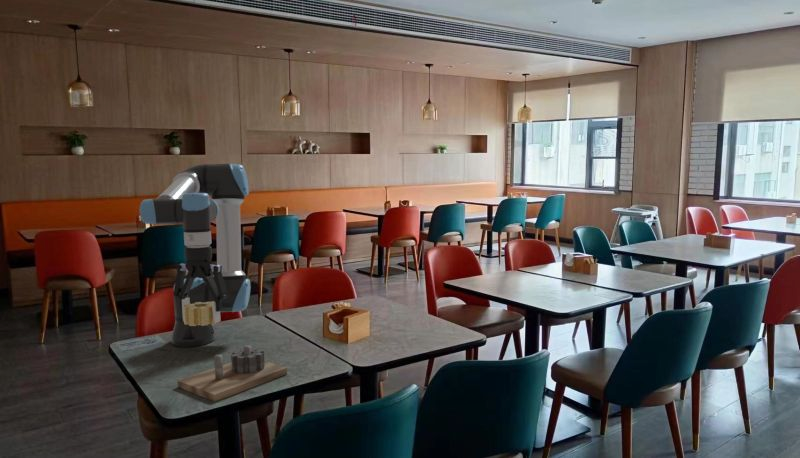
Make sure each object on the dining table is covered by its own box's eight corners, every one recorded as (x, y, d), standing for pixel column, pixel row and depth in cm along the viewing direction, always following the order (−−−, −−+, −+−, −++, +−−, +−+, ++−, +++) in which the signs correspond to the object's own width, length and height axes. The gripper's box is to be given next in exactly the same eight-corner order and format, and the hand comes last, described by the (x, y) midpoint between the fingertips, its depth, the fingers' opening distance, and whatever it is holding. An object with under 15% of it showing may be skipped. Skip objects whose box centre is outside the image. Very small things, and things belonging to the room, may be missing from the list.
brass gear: (197, 317, 184) (196, 300, 183) (225, 318, 181) (224, 302, 180) (177, 324, 175) (176, 308, 174) (206, 327, 172) (205, 309, 171)
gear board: (177, 386, 176) (176, 357, 175) (249, 362, 196) (248, 335, 195) (215, 401, 165) (213, 370, 164) (286, 373, 186) (285, 345, 184)
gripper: (157, 246, 175) (161, 322, 177) (224, 248, 169) (227, 326, 171) (174, 243, 182) (177, 315, 184) (238, 245, 176) (241, 320, 178)
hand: (201, 321), depth 178 cm, fingers closed on brass gear, 10 cm apart
